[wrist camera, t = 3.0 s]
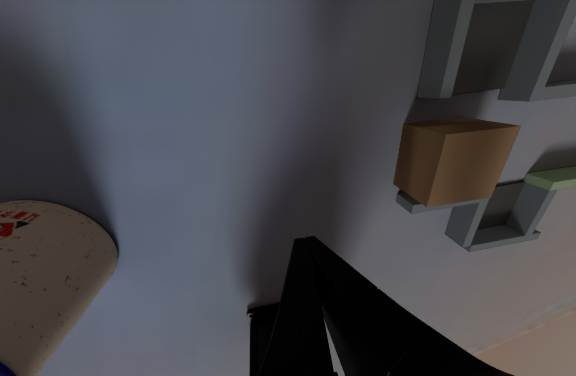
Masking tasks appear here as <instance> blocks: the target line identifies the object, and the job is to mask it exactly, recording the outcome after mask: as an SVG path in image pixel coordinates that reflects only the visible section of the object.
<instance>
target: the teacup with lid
mask: <svg viewBox="0 0 576 376" xmlns="http://www.w3.org/2000/svg"><path fill="white" fill-rule="evenodd" d="M117 261H118V254H117V249H116V246H115V244H114V242H113V240H112V238H111V237H110V236H109V234H108V233H107V232H106V231H105V230H104V229H103V228H102V227H101V226H100V225H99V224H97V223H96V222H95V221H93V220H92V219H90V218H89V217H87V216H85V215H84V214H82V213H80V212H78V211H75V210H73V209H70V208H68V207H65V206H62V205H58V204H54V203H49V202H43V201H35V200H16V201H8V202H3V203H0V376H37V375H38V373H39V372H40V371H41V369H42V368H43V367H44V365H45V364H46V363H47V361H48V360H49V359H50V357H51V356H52V355H53V353H54V352H55V351H56V349H57V348H58V346H59V345H60V344H61V342H62V341H63V340H64V338H65V337H66V336H67V334H68V333H69V332H70V330H71V329H72V328H73V326H74V325H75V324H76V322H77V321H78V320H79V318H80V317H81V316H82V314H83V313H84V312H85V310H86V309H87V308H88V306H89V305H90V304H91V302H92V301H93V300H94V298H95V297H96V296H97V294H98V293H99V292H100V290H101V289H102V288H103V286H104V285H105V283H106V282H107V281H108V279H109V278H110V277H111V275H112V274H113V273H114V271H115V269H116V266H117Z"/></svg>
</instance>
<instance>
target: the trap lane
mask: <svg viewBox="0 0 576 376" xmlns="http://www.w3.org/2000/svg"><path fill="white" fill-rule="evenodd" d="M575 15H576V0H434V5H433V10H432V16H431V22H430V27H429V33H428V38H427V44H426V49H425V55H424V61H423V66H422V72H421V77H420V83H419V88H418V94H417V97H418V98H432V99H444V98H451V95H452V94H456V93H465V92H474V91H483V90H492V89H501V88H502V89H501V91H500V94H499V97H498V100H511V101H537V100H545V99H554V98H562V97H571V96H576V80H571V81H562V82H552V83H547V80H548V78H549V76H550V73H551V71H552V69H553V66H554V64H555V62H556V59H557V57H558V55H559V52H560V50H561V48H562V45H563V43H564V40H565V38H566V36H567V33H568V31H569V29H570V26H571V24H572V22H573V19H574V17H575ZM574 186H576V166H572V167H566V168H559V169H553V170H547V171H540V172H534V173H528V174H526V176H525V178H524V181H522V182H516V183H510V184H503V185H497V186H496V187H495V189H494V191H493V194H492V196H491V198H484V199H478V200H471V201H465V202H458V203H452V204H446V205H439V206H433V207H425V206H424V205H423V204H421V203H420V202H418V201H417V200H415V199H414V198H413V197H411V196H410V195H408V194H407V193H400V194H397V200H396V202H397V203H398V204H400V205H401V206H402V207H403V208H405V209H406V210H407V211H408V212H410V213H411V214H414V213H420V212H426V211H432V210H438V209H443V208H449V207H454V208H453V211H452V214H451V217H450V220H449V223H448V226H447V230H446V233H445V235H447V236H448V237H449V238H451V239H452V240H453V241H454V242H456V243H457V244H458V245H460V246H461V247H462V248H465V249H466V250H467V251H468V252H472V251H477V250H482V249H488V248H493V247H498V246H503V245H508V244H514V243H519V242H524V241H529V240H534V239H538V237H539V235H540V233H541V232H539V231H537V230H535V228H536V227H537V225H538V223H539V221H540V220H541V218H542V216H543V214H544V212H545V211H546V209H547V207H548V205H549V204H550V202H551V200H552V198H553V197H554V195H555V193H556V191H557V189H563V188H569V187H574Z"/></svg>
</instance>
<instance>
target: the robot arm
mask: <svg viewBox="0 0 576 376" xmlns="http://www.w3.org/2000/svg"><path fill="white" fill-rule="evenodd" d="M247 320H248V323H249V327H250V376H338V374H337V372H334V370H333V365H332V359H331V354H330V349H329V343H328V338H327V333H326V327H325V322H326V325H327V328H328V330H329V333H330V336H331V339H332V341H333V344H334V347H335V349H336V352H337V355H338V357H339V360H340V363H341V365H342V368H343V371H344V374H345V376H514V375H511V374H508V373H506V372H503V371H501V370H499V369H496V368H494V367H492V366H490V365H488V364H486V363H485V362H483V361H481V360H479V359H477V358H476V357H474V356H473V355H471V354H470V353H468V352H467V351H465V350H464V349H462V348H461V347H459V346H458V345H456V344H455V343H453V342H452V341H451V340H449V339H448V338H446V337H445V336H443V335H442V334H440V333H439V332H437V331H436V330H434V329H433V328H431V327H430V326H429V325H427V324H426V323H424V322H423V321H421V320H420V319H418V318H417V317H416V316H414V315H413V314H411V313H410V312H408V311H407V310H406V309H404V308H403V307H402V306H400V305H399V304H398V303H396V302H395V301H394V300H393V299H391V298H390V297H389V296H387V295H386V294H385V293H384V292H383V291H381V290H380V289H378V288H377V287H376V286H375V285H374V284H373V283H371V282H370V281H369V280H368V279H366V278H365V277H364V276H363V275H361V274H360V273H359V272H358V271H357V270H355V269H354V268H353V267H352V266H350V265H349V264H348V263H347V262H346V261H344V260H343V259H342V258H341V257H339V256H338V255H337V254H336V253H334V252H333V251H332V250H331V249H330V248H328V247H327V246H326V245H325V244H323V243H322V242H321V241H320V240H318V239H317V238H316V237H315V236H309V237H305V238H297V239H294V243H293V247H292V251H291V256H290V260H289V265H288V269H287V273H286V278H285V282H284V286H283V291H282V295H281V300H280V304H276V305H271V306H266V307H261V308H256V309H251V310H248V311H247ZM324 320H325V322H324Z"/></svg>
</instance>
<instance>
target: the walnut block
mask: <svg viewBox="0 0 576 376" xmlns="http://www.w3.org/2000/svg"><path fill="white" fill-rule="evenodd" d="M520 127H521V126H518V125H511V124H505V123H498V122H491V121H484V120H478V119H471V118H464V117H463V118H454V119H445V120H435V121H426V122H417V123H408V124H403V130H402V136H401V142H400V148H399V153H398V159H397V165H396V171H395V177H394V182H393V184H394V185H395V186H397V187H398V188H400V189H401V190H403V191H404V192H405V193H407V194H408V195H410V196H411V197H413V198H414V199H415V200H417V201H418V202H420V203H421V204H423V205H424V206H425V207H433V206H439V205H446V204H452V203H458V202H465V201H471V200H478V199H484V198H491V196H492V194H493V191H494V189H495V187H496V184H497V182H498V179H499V177H500V175H501V172H502V170H503V168H504V165H505V163H506V160H507V158H508V156H509V153H510V151H511V149H512V146H513V144H514V141H515V139H516V137H517V134H518V132H519V130H520Z"/></svg>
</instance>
